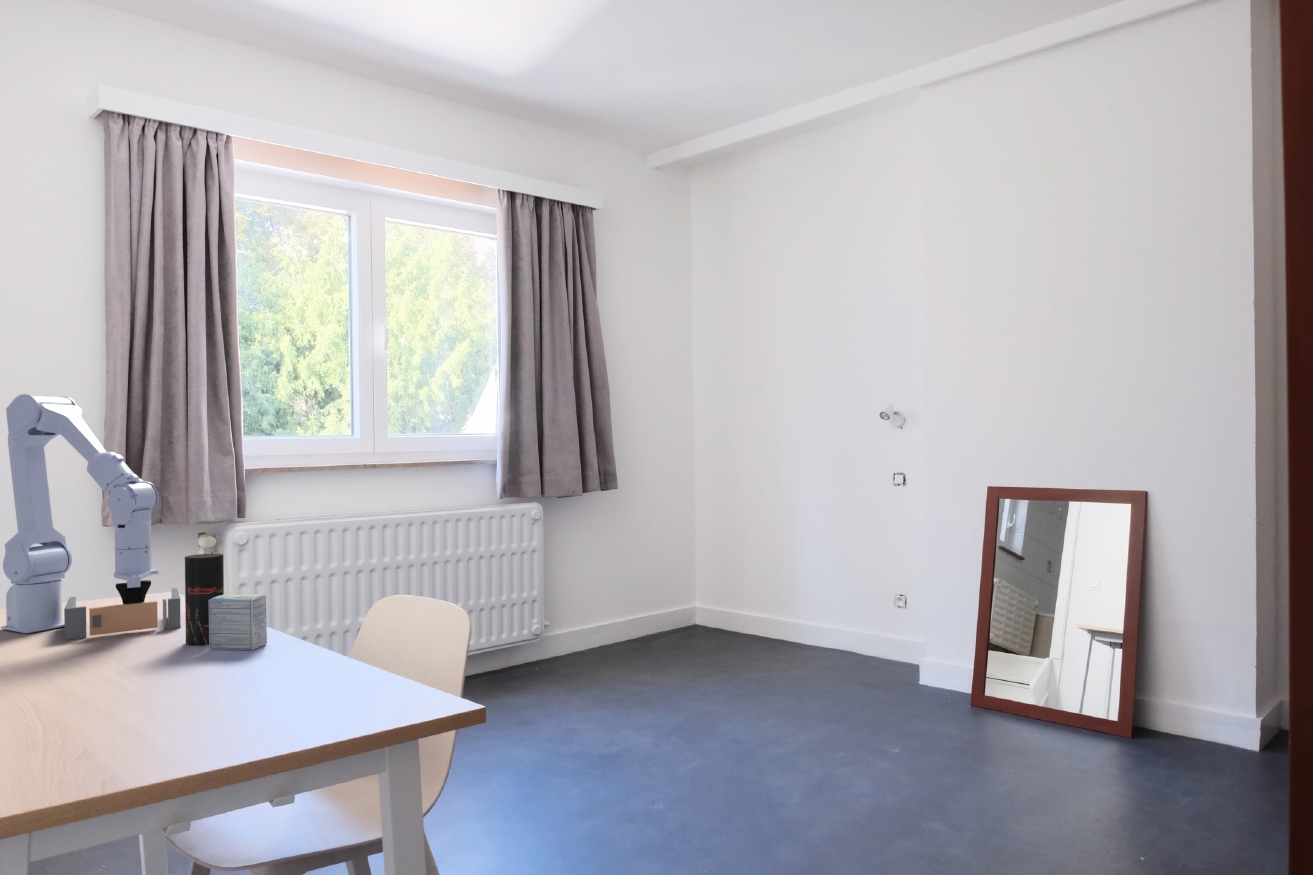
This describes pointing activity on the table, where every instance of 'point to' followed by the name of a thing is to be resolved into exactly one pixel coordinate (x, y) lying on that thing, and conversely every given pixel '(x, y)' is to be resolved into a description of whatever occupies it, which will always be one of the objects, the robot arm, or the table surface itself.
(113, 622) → the door
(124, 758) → the table surface
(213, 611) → the medicine box
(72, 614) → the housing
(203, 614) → the deodorant
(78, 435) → the robot arm
